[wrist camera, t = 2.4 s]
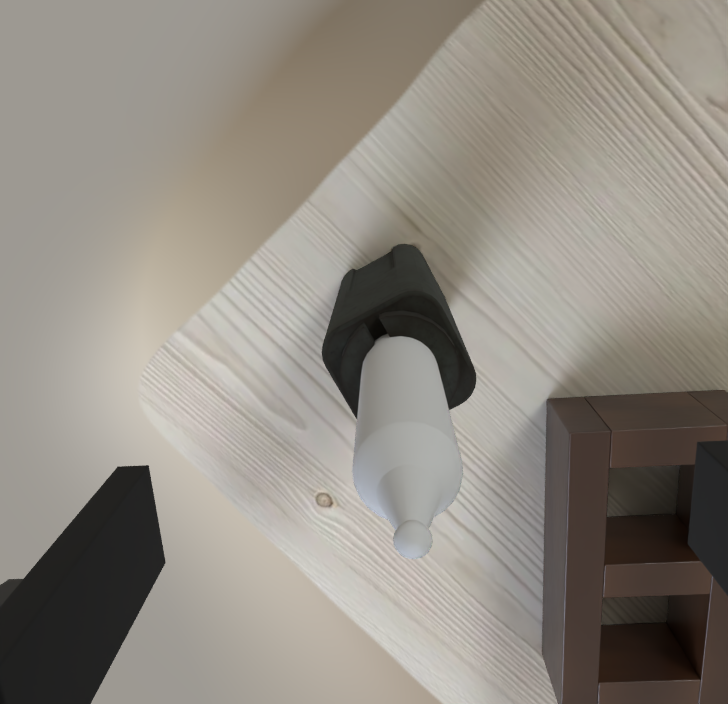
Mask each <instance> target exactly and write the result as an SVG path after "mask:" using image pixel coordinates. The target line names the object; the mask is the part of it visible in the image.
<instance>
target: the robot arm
mask: <svg viewBox="0 0 728 704" xmlns="http://www.w3.org/2000/svg"><path fill="white" fill-rule="evenodd" d="M688 545H689V546H690V548H691V549H692V550H693V551H694V553H695V554H696V555H697V557H698V558H699V559H700V561H701V562H702V563H703V565H704V566H705V567H706V568H707V570H708V571H709V572H710V574H711V575H712V576H713V578H714V579H715V580H716V582H717V583H718V584H719V585H720V587H721V588H722V589H723V591H724V592H725V593H726V595H727V596H728V440H725V441H702V442H697V448H696V459H695V469H694V480H693V491H692V502H691V513H690V524H689V535H688ZM164 564H165V557H164V551H163V546H162V540H161V534H160V528H159V523H158V517H157V512H156V505H155V500H154V494H153V488H152V483H151V477H150V471H149V466H148V465H147V466H124V467H117V468H116V470H115V471H114V472H113V473H112V474H111V476H110V477H109V478H108V479H107V480H106V481H105V483H104V484H103V485H102V486H101V488H100V489H99V490H98V491H97V492H96V493H95V495H94V496H93V497H92V498H91V499H90V500H89V502H88V503H87V504H86V505H85V506H84V508H83V509H82V510H81V511H80V512H79V514H78V515H77V516H76V517H75V518H74V519H73V521H72V522H71V523H70V524H69V526H68V527H67V528H66V529H65V530H64V531H63V533H62V534H61V535H60V536H59V537H58V538H57V540H56V541H55V542H54V543H53V544H52V546H51V547H50V548H49V549H48V551H47V552H46V553H45V554H44V555H43V556H42V558H41V559H40V560H39V561H38V562H37V563H36V565H35V566H34V567H33V568H32V569H31V571H30V572H29V573H28V574H27V575H26V577H25V578H24V579H9V580H7V581H6V582H4V583H3V584H1V585H0V704H91V702H92V700H93V698H94V696H95V694H96V692H97V690H98V689H99V686H100V685H101V683H102V681H103V679H104V677H105V675H106V674H107V671H108V670H109V668H110V666H111V664H112V662H113V660H114V658H115V657H116V655H117V653H118V651H119V649H120V647H121V645H122V643H123V641H124V640H125V638H126V636H127V634H128V632H129V630H130V628H131V626H132V625H133V623H134V621H135V619H136V617H137V615H138V613H139V611H140V609H141V608H142V606H143V604H144V602H145V600H146V598H147V596H148V594H149V593H150V591H151V589H152V587H153V585H154V583H155V581H156V579H157V577H158V575H159V574H160V572H161V570H162V568H163V566H164Z"/></svg>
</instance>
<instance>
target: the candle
mask: <svg viewBox="0 0 728 704" xmlns="http://www.w3.org/2000/svg"><path fill="white" fill-rule="evenodd" d="M322 357H323V361H324V364H325V366H326V368H327V370H328V371H329V373H330V375H331V376H332V378H333V380H334V381H335V383H336V385H337V387H338V388H339V390H340V392H341V393H342V395H343V397H344V398H345V400H346V402H347V403H348V405H349V407H350V408H351V410H352V412H353V414H354V415H355V417H356V419H357V426H356V437H355V447H354V458H353V469H352V472H353V479H354V485H355V487H356V489H357V492H358V494H359V496H360V498H361V500H362V501H363V502H364V503H365V505H366V506H367V507H368V508H369V509H370V510H371V511H373V512H374V513H376V514H377V515H378V516H380V517H383V518H385V519H387V520H389V521H390V523H391V525H392V526H393V528H394V529H395V533H394V538H393V539H394V546H395V548H396V550H397V551H398V552H399V554H400V555H402V556H403V557H406V558H409V559H418V558H421V557H423V556H424V555H426V554H427V553H428V552H429V550H430V548H431V546H432V534H431V532H430V530H429V527H430V524H431V522H432V520H433V518H434V517H435V516H437V515H438V514H440V513H441V512H443V511H444V510H445V509H446V508H447V507H448V506H449V505H450V504H451V503H452V502H453V501H454V499H455V497H456V495H457V494H458V492H459V490H460V485H461V481H462V476H463V467H462V459H461V455H460V451H459V447H458V443H457V439H456V435H455V431H454V427H453V423H452V419H451V416H450V412H449V410H450V409H452V408H454V407H456V406H458V405H460V404H462V403H463V402H465V401H466V400H467V399H468V398H469V397H470V396H471V394H472V392H473V390H474V389H475V384H476V372H475V369H474V367H473V364H472V362H471V359H470V357H469V355H468V352H467V350H466V347H465V345H464V343H463V340H462V338H461V335H460V333H459V331H458V328H457V326H456V323H455V321H454V318H453V316H452V314H451V311H450V309H449V306H448V304H447V302H446V299H445V297H444V295H443V293H442V291H441V289H440V287H439V285H438V283H437V282H436V280H435V278H434V276H433V274H432V272H431V270H430V268H429V266H428V264H427V262H426V261H425V259H424V257H423V255H422V254H421V252H420V251H419V250H418V249H417V248H416V247H414V246H411V245H407V244H401V245H397V246H394V247H393V248H392V252H390V253H388V254H386V255H385V256H383V257H381V258H379V259H377V260H375V261H374V262H372V263H370V264H368V265H366V266H364V267H362V268H361V269H359V270H355V269H352V270H350V271H349V272H348V273H347V274H346V275H345V276H344V278H343V280H342V283H341V286H340V289H339V293H338V296H337V299H336V303H335V306H334V309H333V313H332V316H331V319H330V323H329V326H328V329H327V333H326V336H325V339H324V343H323V347H322Z"/></svg>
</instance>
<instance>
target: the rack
mask: <svg viewBox="0 0 728 704" xmlns="http://www.w3.org/2000/svg"><path fill="white" fill-rule="evenodd" d="M725 440H728V392H726V391H725V390H713V391H692V392H672V393H652V394H631V395H611V396H591V397H575V398H555V399H547V422H546V473H545V523H544V574H543V625H542V655H543V658H544V661H545V665H546V668H547V671H548V674H549V677H550V680H551V684H552V687H553V690H554V693H555V696H556V699H557V702H558V704H728V596H727V595H726V593H725V592H724V591H723V589H722V588H721V587H720V585H719V584H718V583H717V582H716V580H715V579H714V578H713V576H712V575H711V574H710V572H709V571H708V570H707V568H706V567H705V566H704V565H703V563H702V562H701V561H700V559H699V558H698V557H697V555H696V554H695V553H694V551H693V550H692V549H691V548H690V546H689V545H688V535H689V524H690V513H691V502H692V491H693V480H694V469H695V459H696V448H697V442H702V441H725ZM669 465H680V475H679V486H678V498H677V510H676V514H664V515H640V516H616V517H607V500H608V481H609V467H610V468H624V467H647V466H669ZM666 595H669V603H668V615H667V623H648V624H620V625H601V618H602V599H603V598H611V597H638V596H666Z"/></svg>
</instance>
